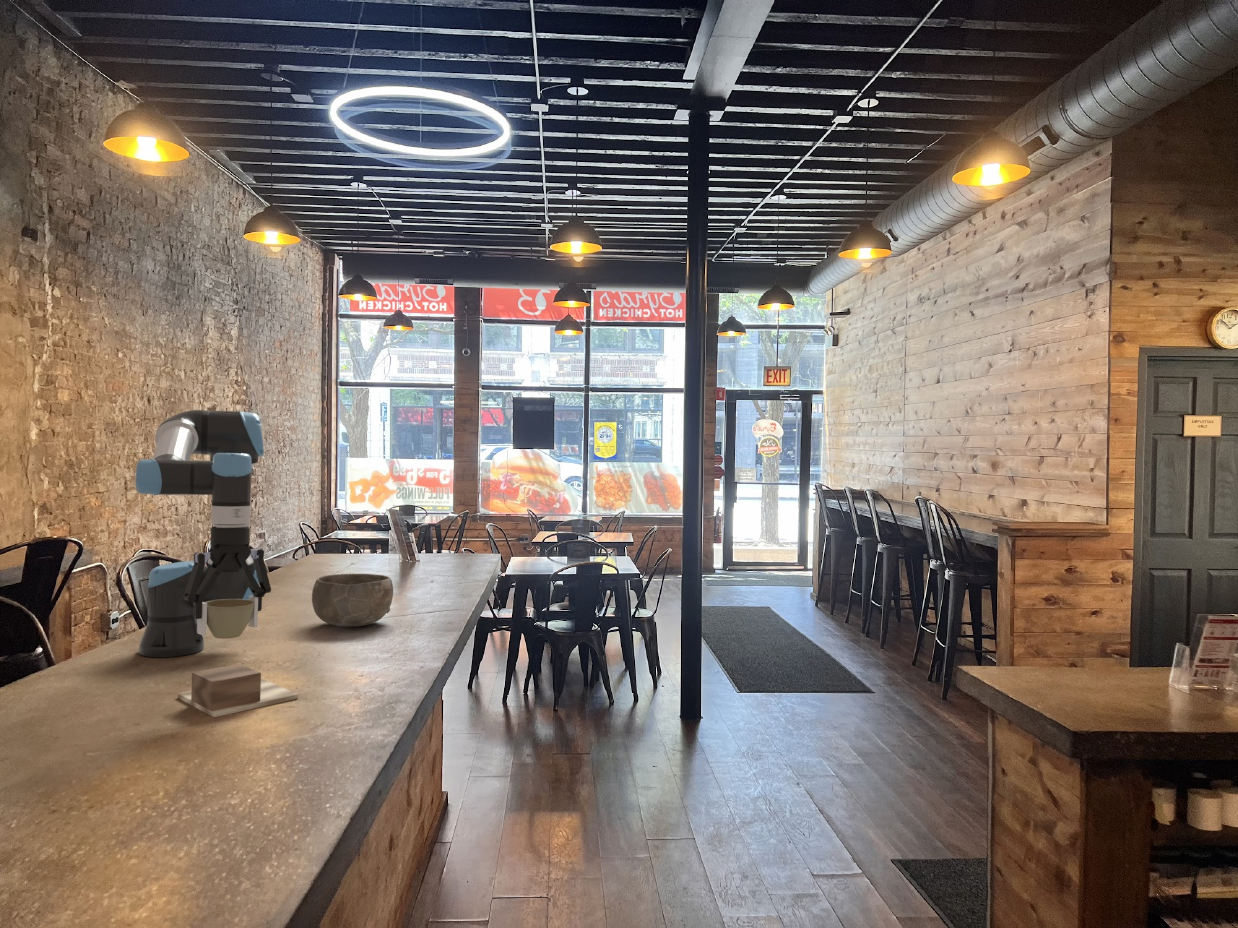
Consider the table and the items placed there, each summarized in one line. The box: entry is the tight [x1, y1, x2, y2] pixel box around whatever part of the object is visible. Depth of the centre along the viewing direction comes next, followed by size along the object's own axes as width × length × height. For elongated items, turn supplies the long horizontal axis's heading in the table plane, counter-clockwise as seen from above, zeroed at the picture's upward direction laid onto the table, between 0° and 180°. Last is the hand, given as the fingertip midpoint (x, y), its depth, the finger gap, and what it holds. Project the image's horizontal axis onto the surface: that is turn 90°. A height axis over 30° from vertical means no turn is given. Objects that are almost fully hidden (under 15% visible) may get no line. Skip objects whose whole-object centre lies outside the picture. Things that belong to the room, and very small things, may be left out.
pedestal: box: [191, 663, 262, 711], centre depth 170 cm, size 10×10×6 cm
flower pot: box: [205, 599, 255, 640], centre depth 170 cm, size 10×10×7 cm
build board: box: [177, 677, 299, 718], centre depth 176 cm, size 18×18×1 cm
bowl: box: [311, 573, 394, 628], centre depth 251 cm, size 24×24×15 cm
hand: (227, 630), depth 170 cm, fingers closed on flower pot, 10 cm apart
